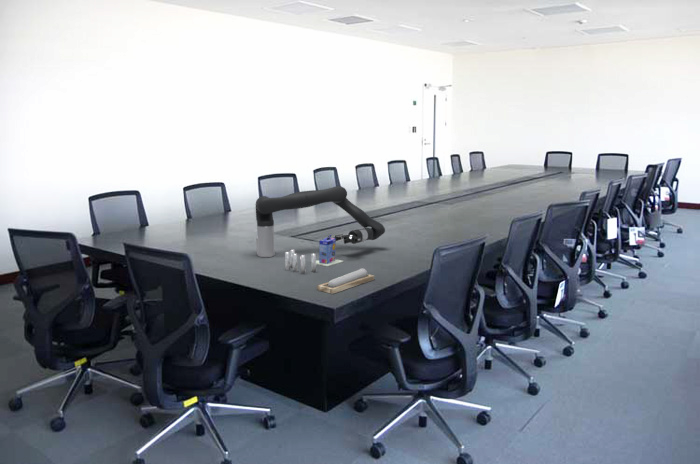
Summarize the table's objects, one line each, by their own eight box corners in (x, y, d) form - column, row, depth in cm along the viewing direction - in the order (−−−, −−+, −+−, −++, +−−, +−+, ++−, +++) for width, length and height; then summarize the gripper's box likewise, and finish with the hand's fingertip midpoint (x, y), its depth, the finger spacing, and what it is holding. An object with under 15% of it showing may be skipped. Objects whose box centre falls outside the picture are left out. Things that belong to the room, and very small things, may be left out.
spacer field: (281, 268, 279) (281, 251, 278) (292, 265, 285) (292, 249, 284) (306, 274, 268) (305, 256, 267) (317, 271, 274) (316, 253, 273)
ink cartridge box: (328, 264, 287) (328, 237, 284) (318, 263, 289) (318, 236, 286) (336, 260, 295) (336, 233, 293) (327, 259, 298) (326, 232, 295)
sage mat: (310, 263, 291) (310, 262, 291) (327, 258, 301) (327, 257, 301) (327, 266, 284) (327, 265, 284) (343, 261, 294) (343, 260, 293)
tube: (336, 284, 239) (369, 271, 259) (327, 278, 242) (360, 266, 261) (333, 294, 241) (366, 281, 261) (324, 288, 244) (357, 276, 263)
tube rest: (317, 289, 243) (317, 285, 243) (358, 276, 265) (358, 272, 265) (332, 293, 238) (332, 289, 237) (374, 279, 260) (374, 275, 259)
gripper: (348, 228, 312) (328, 232, 300) (367, 230, 303) (348, 235, 291) (348, 240, 314) (329, 245, 302) (367, 244, 304) (348, 249, 292)
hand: (338, 240), depth 296 cm, fingers open, 8 cm apart
